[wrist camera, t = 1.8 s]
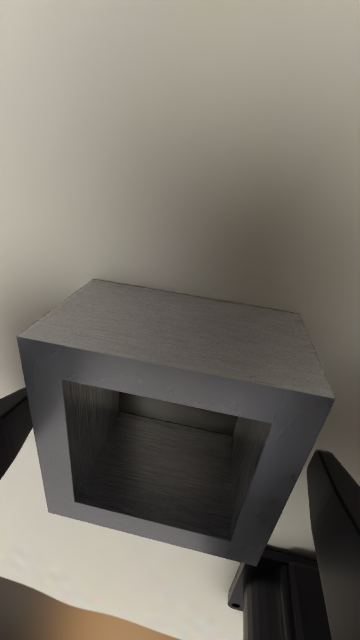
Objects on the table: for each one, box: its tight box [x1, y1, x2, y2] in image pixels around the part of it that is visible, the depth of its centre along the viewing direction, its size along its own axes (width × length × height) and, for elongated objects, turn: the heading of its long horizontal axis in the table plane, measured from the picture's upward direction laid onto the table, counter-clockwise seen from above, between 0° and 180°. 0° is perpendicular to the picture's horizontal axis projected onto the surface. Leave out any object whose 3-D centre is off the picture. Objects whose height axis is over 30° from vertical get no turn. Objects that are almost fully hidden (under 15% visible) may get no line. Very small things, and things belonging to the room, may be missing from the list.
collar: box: [17, 279, 335, 566], centre depth 10 cm, size 7×7×4 cm
